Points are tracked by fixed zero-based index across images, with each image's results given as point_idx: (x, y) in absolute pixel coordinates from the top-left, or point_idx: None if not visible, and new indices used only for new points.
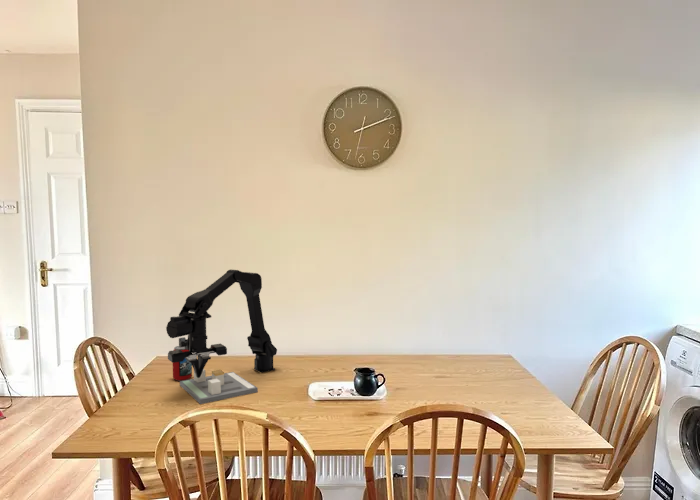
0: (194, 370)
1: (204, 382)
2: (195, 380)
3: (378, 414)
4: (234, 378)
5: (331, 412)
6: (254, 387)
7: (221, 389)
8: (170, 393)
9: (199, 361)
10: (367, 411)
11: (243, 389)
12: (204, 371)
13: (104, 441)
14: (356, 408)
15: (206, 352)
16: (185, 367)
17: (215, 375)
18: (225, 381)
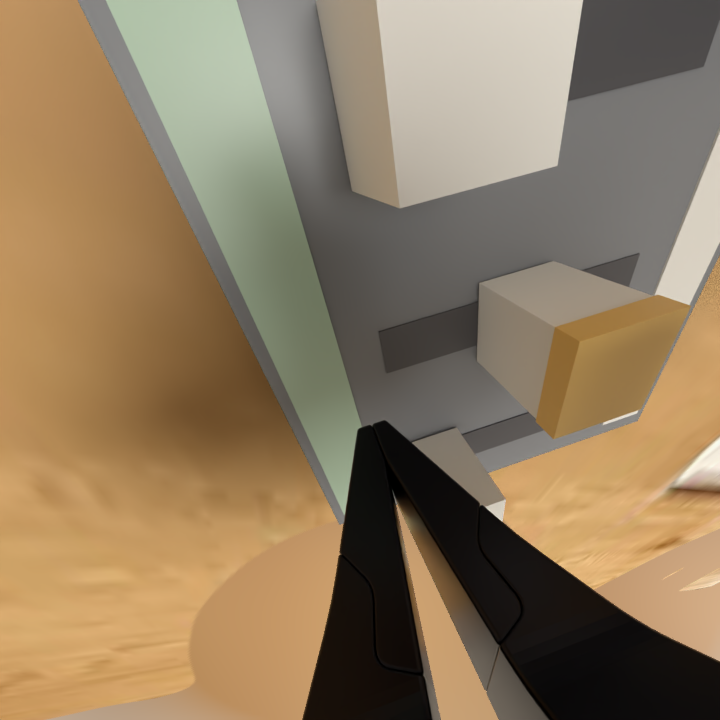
0: (350, 522)
1: (429, 205)
2: (338, 106)
3: (670, 545)
4: (698, 191)
5: (624, 542)
6: (631, 414)
7: (484, 416)
8: (66, 298)
9: (513, 703)
10: (672, 536)
11: (575, 432)
12: (524, 172)
13: (11, 703)
14: (675, 526)
15: None
16: None
17: (539, 425)
18: (594, 251)
